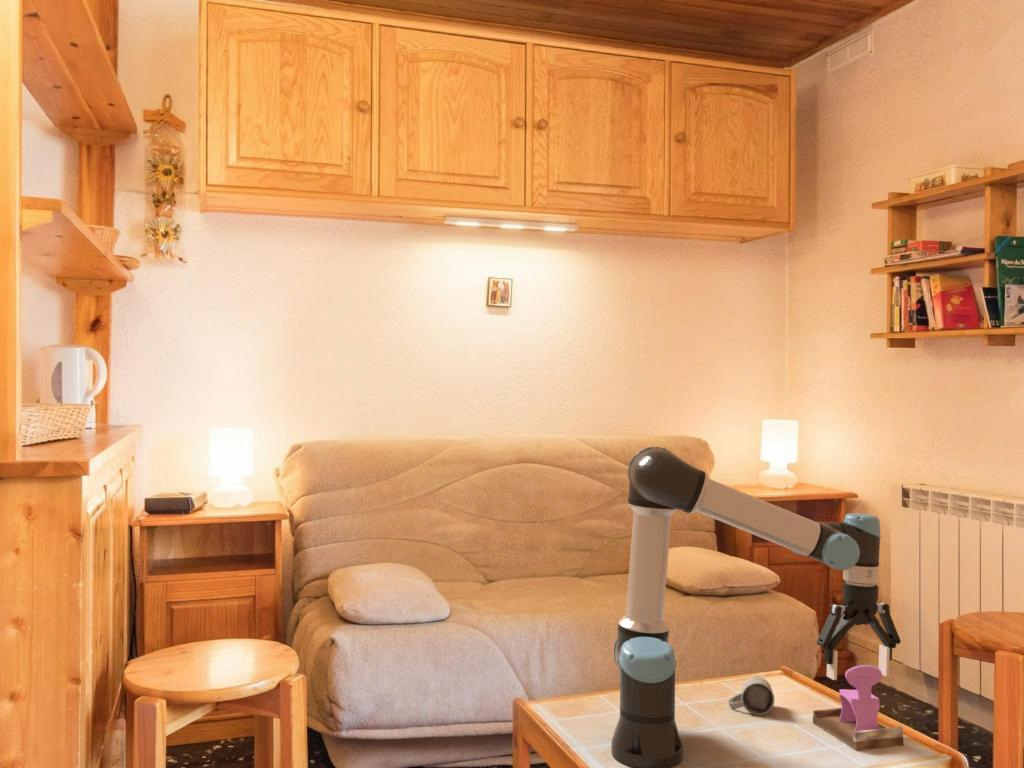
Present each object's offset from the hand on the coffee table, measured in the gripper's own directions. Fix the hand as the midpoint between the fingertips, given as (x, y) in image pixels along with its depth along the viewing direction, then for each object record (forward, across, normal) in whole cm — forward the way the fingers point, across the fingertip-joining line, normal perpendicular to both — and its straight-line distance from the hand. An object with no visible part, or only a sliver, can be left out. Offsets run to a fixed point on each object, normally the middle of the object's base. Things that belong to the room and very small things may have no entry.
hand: (857, 676), depth 198 cm
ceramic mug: (+14, -15, +20) cm, 29 cm away
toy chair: (+12, +1, 0) cm, 12 cm away
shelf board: (+13, +1, +1) cm, 13 cm away
